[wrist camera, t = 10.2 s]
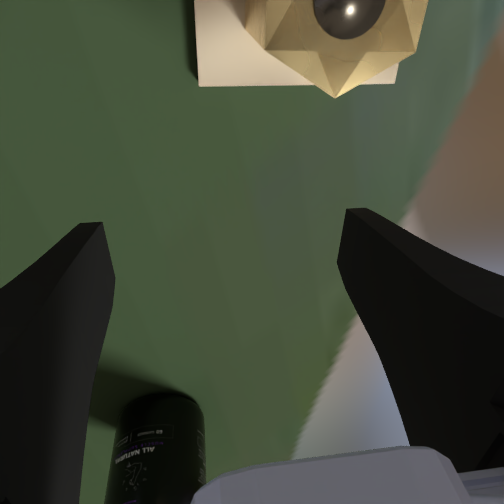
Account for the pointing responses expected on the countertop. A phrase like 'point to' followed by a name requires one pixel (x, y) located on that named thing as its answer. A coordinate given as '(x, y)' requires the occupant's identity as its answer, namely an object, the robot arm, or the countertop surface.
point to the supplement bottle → (157, 452)
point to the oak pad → (243, 51)
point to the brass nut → (336, 36)
